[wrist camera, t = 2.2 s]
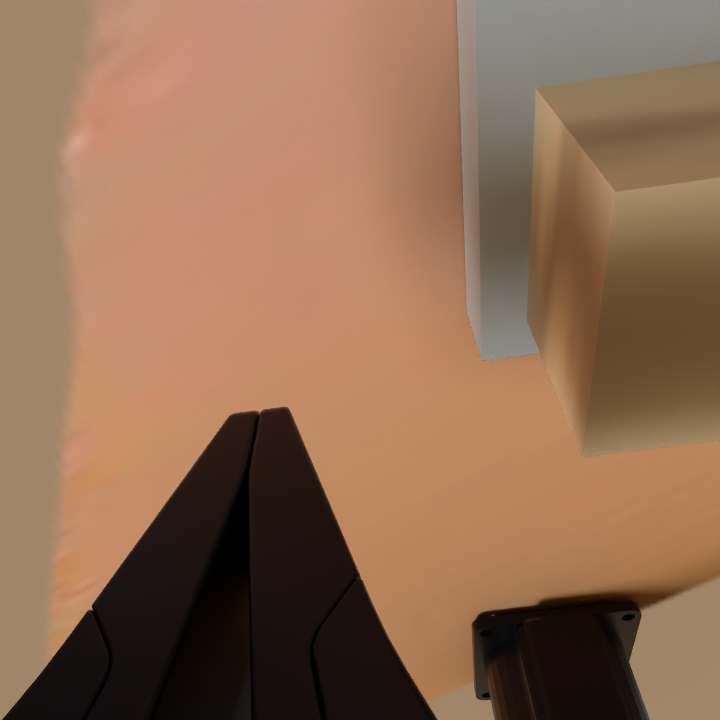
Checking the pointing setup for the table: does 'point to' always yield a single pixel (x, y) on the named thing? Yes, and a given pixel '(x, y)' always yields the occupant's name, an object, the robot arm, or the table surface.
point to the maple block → (629, 256)
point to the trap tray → (517, 113)
